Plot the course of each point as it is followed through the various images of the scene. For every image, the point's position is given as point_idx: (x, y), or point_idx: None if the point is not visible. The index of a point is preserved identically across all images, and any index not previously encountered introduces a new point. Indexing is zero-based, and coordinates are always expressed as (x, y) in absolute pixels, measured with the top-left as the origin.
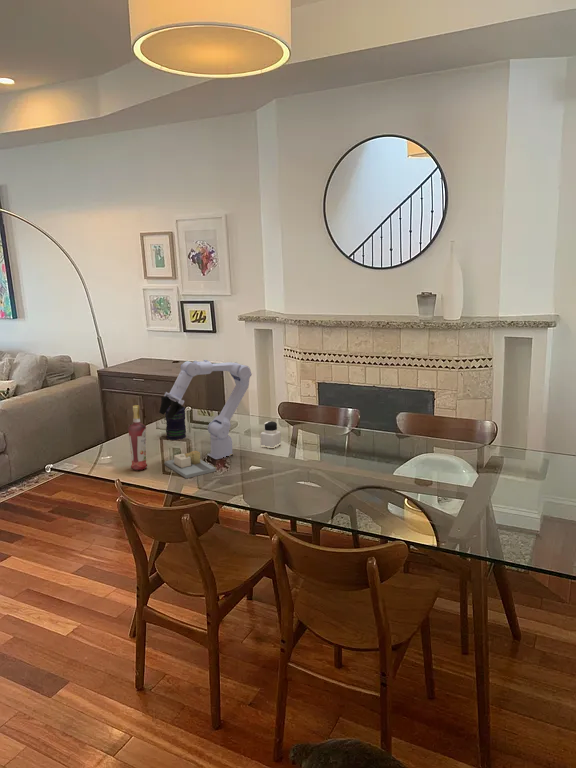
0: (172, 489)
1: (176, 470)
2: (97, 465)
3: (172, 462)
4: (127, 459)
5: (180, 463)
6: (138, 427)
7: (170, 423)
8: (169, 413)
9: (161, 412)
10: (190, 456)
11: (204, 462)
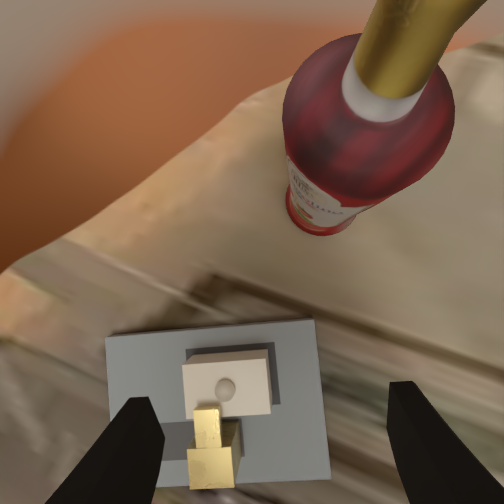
0: (42, 247)
1: (194, 328)
2: (458, 52)
3: (281, 346)
4: (473, 189)
5: (197, 358)
6: (297, 103)
7: None
8: (91, 450)
9: (392, 411)
10: (231, 434)
11: None
